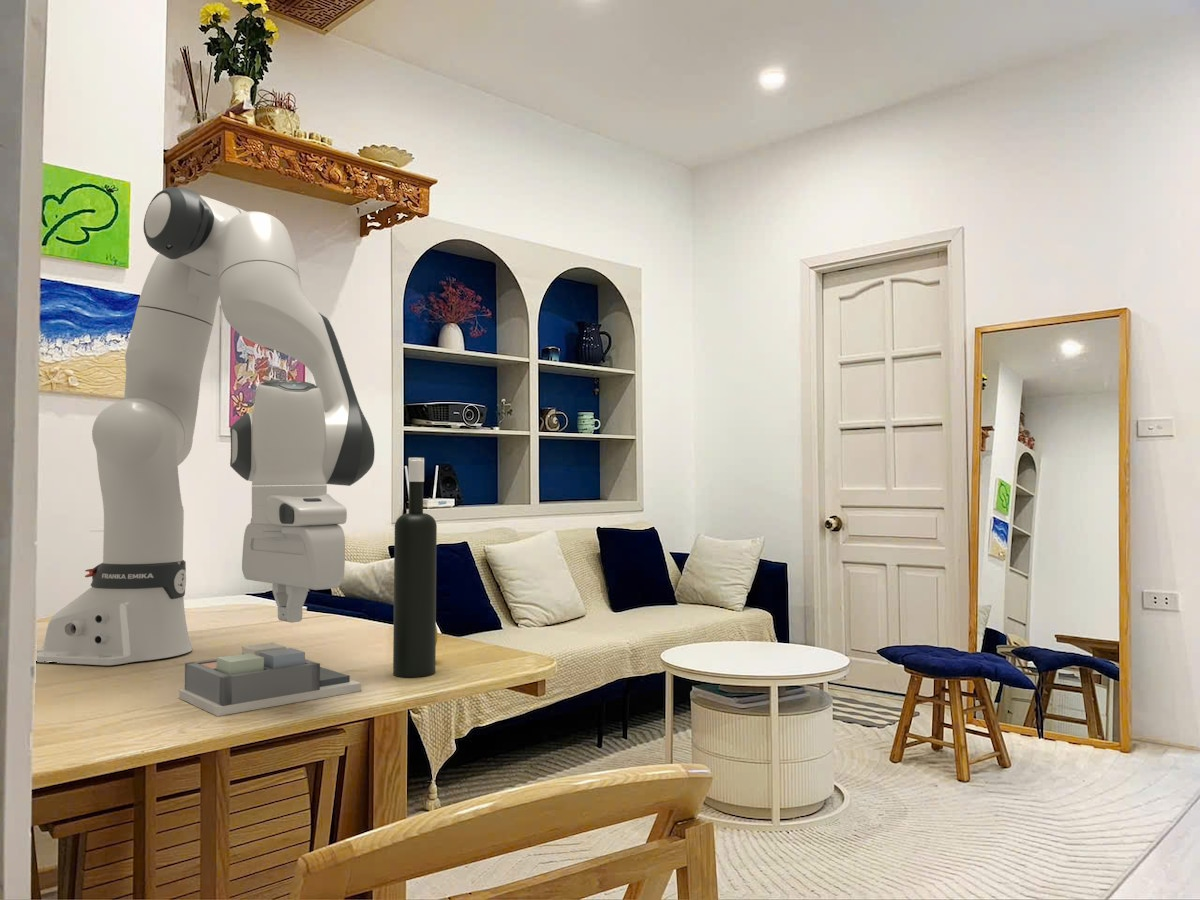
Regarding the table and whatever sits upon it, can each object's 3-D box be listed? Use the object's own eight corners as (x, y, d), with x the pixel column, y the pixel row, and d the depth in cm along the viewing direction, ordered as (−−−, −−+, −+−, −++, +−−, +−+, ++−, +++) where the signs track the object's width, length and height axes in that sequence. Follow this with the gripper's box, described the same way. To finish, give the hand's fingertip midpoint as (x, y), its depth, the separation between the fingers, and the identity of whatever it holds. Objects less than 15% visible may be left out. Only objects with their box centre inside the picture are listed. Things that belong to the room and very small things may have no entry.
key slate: (273, 674, 108) (273, 656, 108) (259, 669, 111) (259, 651, 111) (304, 670, 110) (305, 652, 111) (290, 665, 113) (290, 647, 113)
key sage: (229, 681, 104) (230, 662, 104) (216, 676, 107) (216, 657, 107) (263, 676, 107) (263, 657, 107) (249, 671, 110) (249, 653, 110)
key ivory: (254, 668, 111) (255, 650, 112) (241, 663, 114) (241, 646, 114) (285, 664, 114) (286, 646, 114) (272, 659, 117) (272, 642, 117)
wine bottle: (433, 668, 129) (435, 458, 130) (437, 676, 123) (439, 457, 124) (392, 670, 127) (394, 458, 128) (394, 678, 121) (396, 456, 123)
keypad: (217, 716, 102) (218, 678, 102) (179, 698, 110) (179, 663, 110) (361, 690, 114) (361, 657, 114) (316, 676, 123) (316, 645, 123)
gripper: (229, 509, 117) (229, 616, 116) (304, 511, 102) (305, 633, 102) (275, 507, 121) (275, 610, 121) (354, 509, 107) (355, 626, 106)
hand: (289, 621), depth 111 cm, fingers closed
